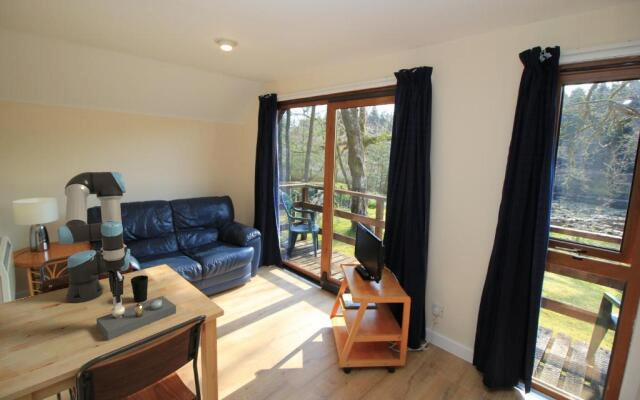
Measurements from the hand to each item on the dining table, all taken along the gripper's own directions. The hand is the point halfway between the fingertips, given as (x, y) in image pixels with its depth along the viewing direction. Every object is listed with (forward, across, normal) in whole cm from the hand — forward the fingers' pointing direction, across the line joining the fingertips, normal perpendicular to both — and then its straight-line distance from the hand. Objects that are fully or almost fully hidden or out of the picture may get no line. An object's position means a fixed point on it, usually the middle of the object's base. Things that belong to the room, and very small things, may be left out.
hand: (118, 308), depth 132 cm
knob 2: (+7, +5, +14) cm, 17 cm away
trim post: (+4, +6, +6) cm, 9 cm away
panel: (+8, +2, +7) cm, 11 cm away
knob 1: (+7, 0, 0) cm, 7 cm away
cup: (+8, -16, +15) cm, 23 cm away
